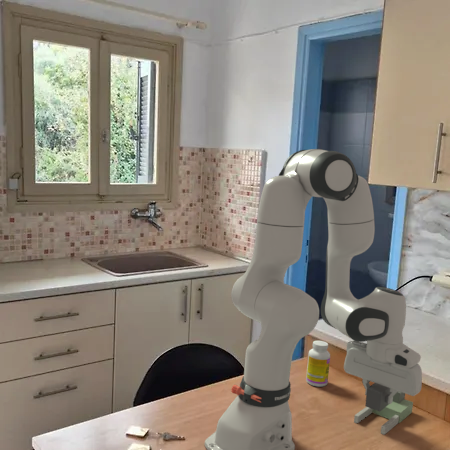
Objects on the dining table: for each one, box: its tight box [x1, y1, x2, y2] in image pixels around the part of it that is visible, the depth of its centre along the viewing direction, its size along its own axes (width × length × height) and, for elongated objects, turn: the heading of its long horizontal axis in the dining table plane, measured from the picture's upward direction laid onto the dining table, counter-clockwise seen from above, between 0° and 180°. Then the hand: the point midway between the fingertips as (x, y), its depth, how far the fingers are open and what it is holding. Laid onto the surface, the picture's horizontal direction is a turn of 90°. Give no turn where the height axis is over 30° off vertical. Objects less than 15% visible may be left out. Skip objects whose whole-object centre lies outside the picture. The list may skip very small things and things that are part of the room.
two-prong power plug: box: [353, 391, 414, 436], centre depth 141 cm, size 18×9×6 cm, turn 139°
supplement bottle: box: [305, 340, 331, 387], centre depth 160 cm, size 7×7×13 cm
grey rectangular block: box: [364, 382, 392, 412], centre depth 137 cm, size 7×4×5 cm, turn 139°
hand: (378, 398), depth 137 cm, fingers closed on grey rectangular block, 4 cm apart
